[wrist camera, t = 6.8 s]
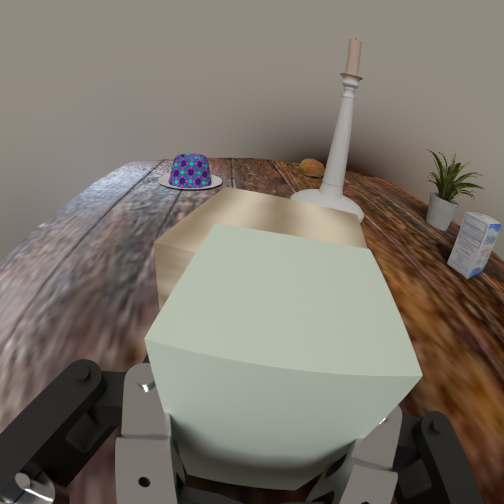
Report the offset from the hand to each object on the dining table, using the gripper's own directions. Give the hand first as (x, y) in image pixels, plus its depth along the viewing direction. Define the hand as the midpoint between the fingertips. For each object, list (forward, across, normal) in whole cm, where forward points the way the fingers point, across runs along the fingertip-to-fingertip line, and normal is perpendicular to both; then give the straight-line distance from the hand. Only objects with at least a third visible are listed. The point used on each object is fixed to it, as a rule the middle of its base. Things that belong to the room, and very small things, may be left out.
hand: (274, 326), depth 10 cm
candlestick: (+36, -8, +7) cm, 38 cm away
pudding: (+39, +17, +7) cm, 44 cm away
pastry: (+64, -7, +7) cm, 65 cm away
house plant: (+41, -33, +7) cm, 53 cm away
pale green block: (-3, 0, +6) cm, 7 cm away
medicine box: (+23, -30, +7) cm, 39 cm away
